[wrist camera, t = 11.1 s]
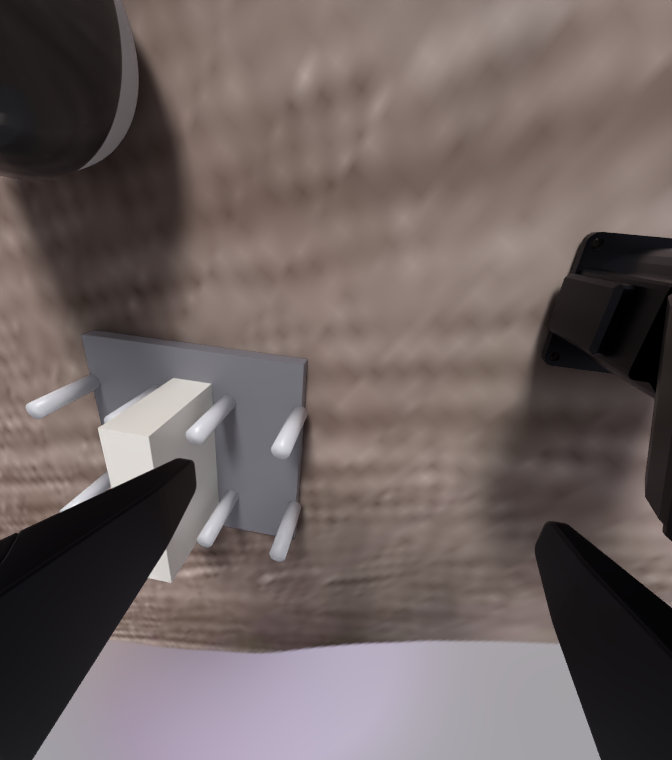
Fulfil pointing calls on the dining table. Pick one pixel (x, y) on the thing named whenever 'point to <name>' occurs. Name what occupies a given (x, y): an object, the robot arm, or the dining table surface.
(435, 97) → the dining table surface
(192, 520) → the tile
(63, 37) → the pump dispenser
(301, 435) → the rack
